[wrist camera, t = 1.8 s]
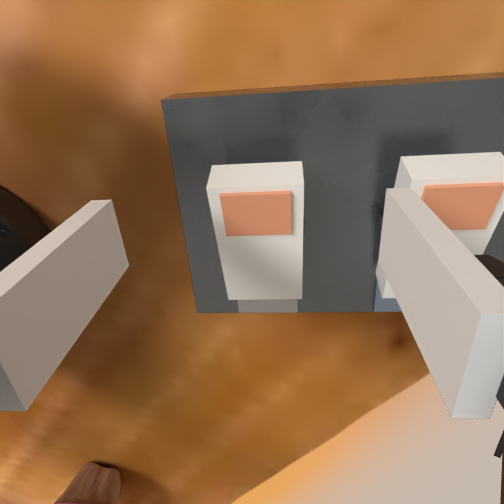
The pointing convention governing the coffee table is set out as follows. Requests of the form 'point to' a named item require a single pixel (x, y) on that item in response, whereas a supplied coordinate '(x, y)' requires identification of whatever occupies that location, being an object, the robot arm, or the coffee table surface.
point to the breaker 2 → (456, 196)
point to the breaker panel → (325, 171)
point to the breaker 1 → (259, 228)
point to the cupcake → (93, 486)
